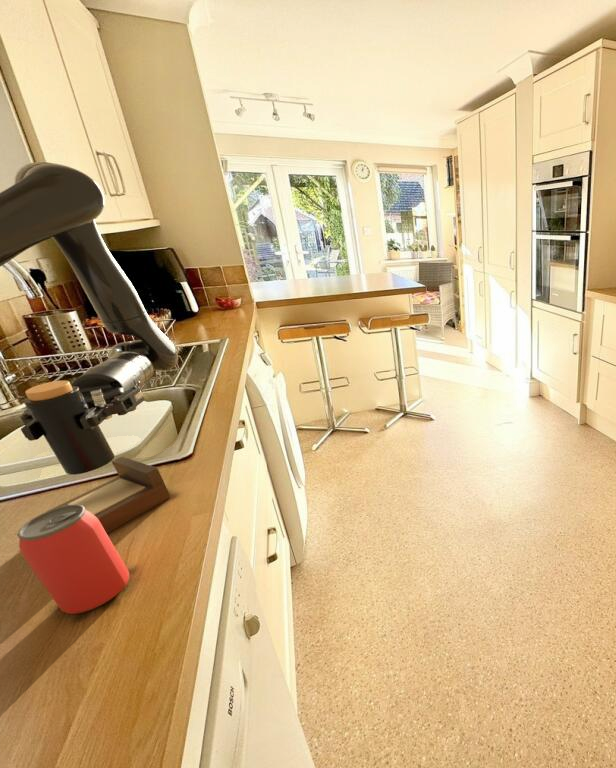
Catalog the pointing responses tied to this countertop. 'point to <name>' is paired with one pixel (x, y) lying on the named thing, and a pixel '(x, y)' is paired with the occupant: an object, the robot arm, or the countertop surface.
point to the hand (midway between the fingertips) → (58, 429)
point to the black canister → (67, 427)
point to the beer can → (73, 558)
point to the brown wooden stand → (123, 494)
